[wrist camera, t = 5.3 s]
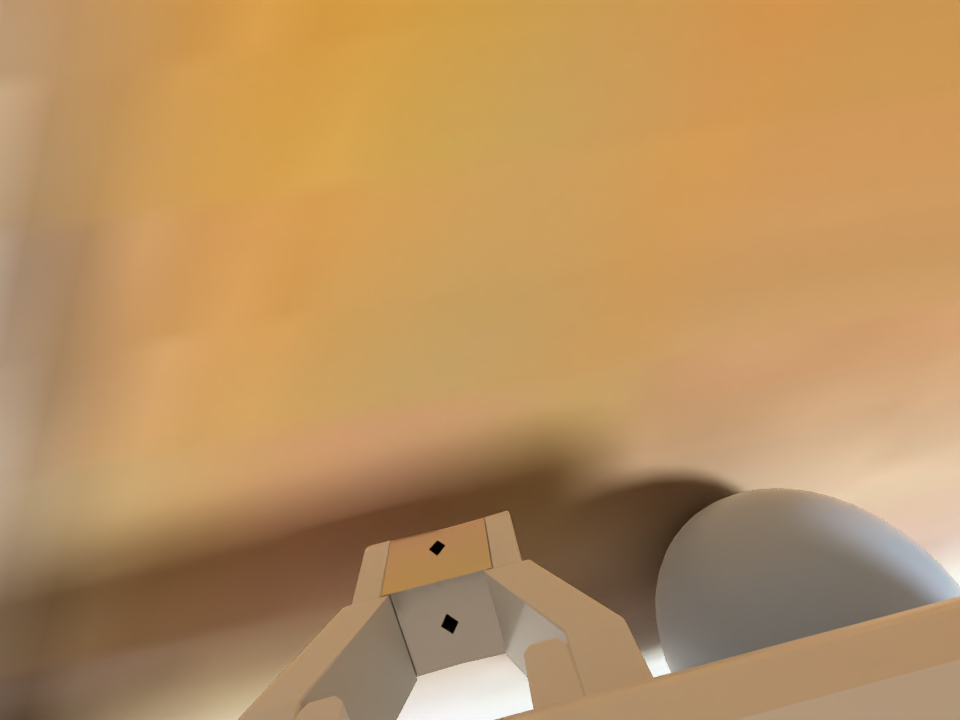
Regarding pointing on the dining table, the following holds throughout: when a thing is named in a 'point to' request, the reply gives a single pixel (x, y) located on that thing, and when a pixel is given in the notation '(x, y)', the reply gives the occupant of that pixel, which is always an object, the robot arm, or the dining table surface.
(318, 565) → the dining table surface
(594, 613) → the robot arm
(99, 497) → the dining table surface
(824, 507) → the blue ball
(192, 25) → the dining table surface
